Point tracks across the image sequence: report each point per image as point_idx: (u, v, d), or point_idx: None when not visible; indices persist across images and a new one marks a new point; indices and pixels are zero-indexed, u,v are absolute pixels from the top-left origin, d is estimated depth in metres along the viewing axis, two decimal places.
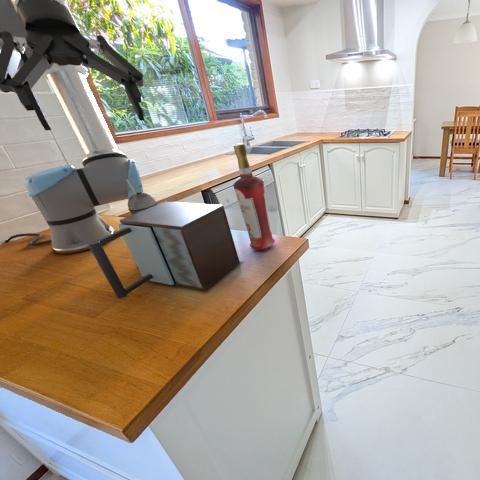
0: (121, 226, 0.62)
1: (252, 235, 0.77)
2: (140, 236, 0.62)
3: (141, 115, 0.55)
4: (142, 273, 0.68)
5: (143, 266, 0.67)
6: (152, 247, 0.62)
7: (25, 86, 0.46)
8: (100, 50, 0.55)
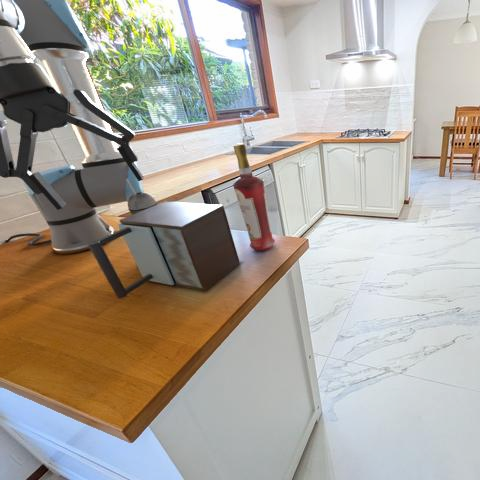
0: (121, 226, 0.62)
1: (252, 235, 0.77)
2: (140, 236, 0.62)
3: None
4: (142, 273, 0.68)
5: (143, 266, 0.67)
6: (152, 247, 0.62)
7: (31, 177, 0.49)
8: (81, 105, 0.49)
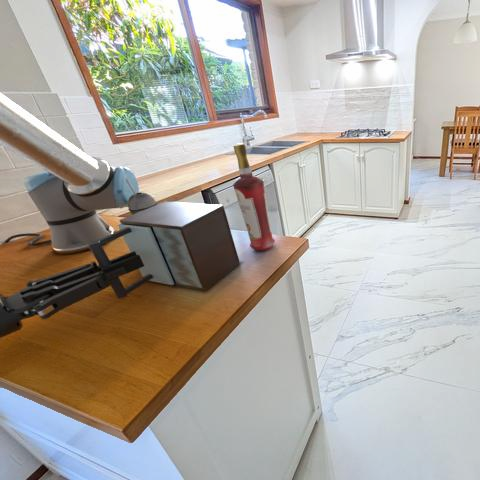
0: (121, 226, 0.62)
1: (252, 235, 0.77)
2: (140, 236, 0.62)
3: (141, 261, 0.62)
4: (142, 273, 0.68)
5: None
6: (152, 247, 0.62)
7: None
8: None
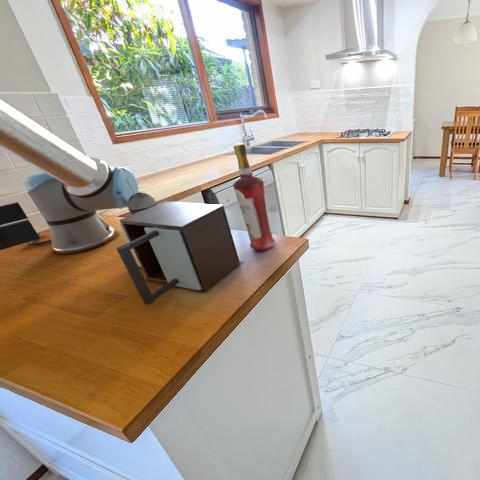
0: (148, 229, 0.60)
1: (252, 235, 0.77)
2: (168, 239, 0.59)
3: None
4: (167, 278, 0.66)
5: (169, 271, 0.64)
6: (180, 251, 0.59)
7: None
8: None
